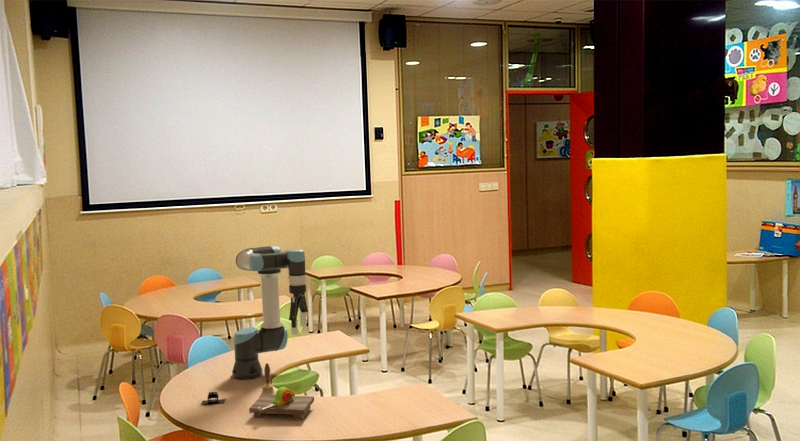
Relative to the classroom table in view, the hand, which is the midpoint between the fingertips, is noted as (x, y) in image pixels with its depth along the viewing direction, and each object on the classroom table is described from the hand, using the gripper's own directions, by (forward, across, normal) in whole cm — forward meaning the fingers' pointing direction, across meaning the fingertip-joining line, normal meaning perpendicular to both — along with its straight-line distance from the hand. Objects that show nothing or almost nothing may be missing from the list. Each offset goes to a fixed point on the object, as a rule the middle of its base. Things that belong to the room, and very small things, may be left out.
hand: (299, 330), depth 323 cm
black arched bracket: (+33, +7, -40) cm, 52 cm away
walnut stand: (+32, +17, -4) cm, 37 cm away
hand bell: (+33, -2, -17) cm, 37 cm away
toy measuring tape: (+28, +20, -5) cm, 34 cm away
